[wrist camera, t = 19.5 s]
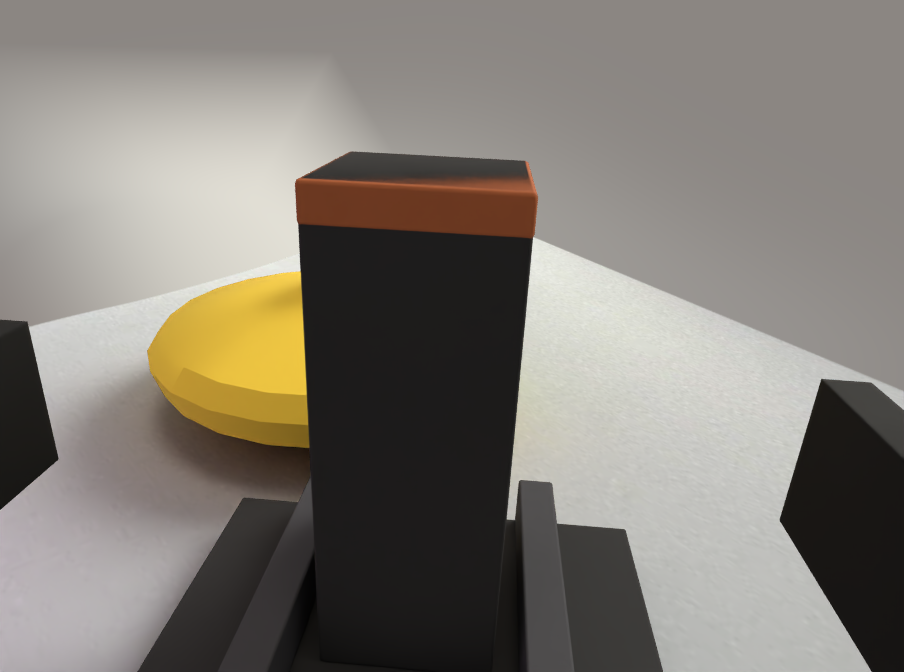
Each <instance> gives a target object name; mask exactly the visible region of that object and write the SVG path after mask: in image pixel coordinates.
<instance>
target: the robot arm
mask: <svg viewBox="0 0 904 672" xmlns="http://www.w3.org/2000/svg"><path fill="white" fill-rule="evenodd" d="M57 460H58V454H57V450H56V445H55V441H54V437H53V432H52V428H51V423H50V419H49V415H48V410H47V406H46V401H45V397H44V393H43V388H42V384H41V379H40V375H39V371H38V366H37V362H36V357H35V353H34V349H33V344H32V340H31V336H30V331H29V327H28V323H27V322H25V321H11V320H0V510H1V509H2V508H3V507H4V506H5V505H6V504H7V503H9V502H10V501H11V500H12V499H13V498H14V497H16V496H17V495H18V494H19V493H20V492H21V491H23V490H24V489H25V488H26V487H27V486H28V485H29V484H31V483H32V482H33V481H34V480H35V479H36V478H38V477H39V476H40V475H41V474H42V473H43V472H44V471H46V470H47V469H48V468H49V467H50V466H51V465H53V464H54V463H55V462H56V461H57ZM780 522H781V523H782V525H783V527H784V528H785V530H786V532H787V533H788V535H789V537H790V538H791V540H792V541H793V543H794V545H795V546H796V548H797V550H798V551H799V553H800V555H801V556H802V558H803V559H804V561H805V563H806V564H807V566H808V568H809V569H810V571H811V573H812V574H813V576H814V578H815V579H816V581H817V582H818V584H819V586H820V587H821V589H822V591H823V592H824V594H825V596H826V597H827V599H828V600H829V602H830V604H831V605H832V607H833V609H834V610H835V612H836V614H837V615H838V617H839V619H840V620H841V622H842V623H843V625H844V627H845V628H846V630H847V632H848V633H849V635H850V637H851V638H852V640H853V642H854V643H855V645H856V646H857V648H858V650H859V651H860V653H861V655H862V656H863V658H864V660H865V661H866V663H867V664H868V666H869V668H870V669H871V671H872V672H904V410H903V409H902V408H901V407H899V406H898V405H897V404H896V403H895V402H893V401H892V400H891V399H890V398H889V397H888V396H886V395H885V394H884V393H883V392H882V391H881V390H879V389H878V388H877V387H876V386H875V385H873V384H872V383H869V382H855V381H842V380H828V379H821V382H820V386H819V389H818V392H817V396H816V399H815V402H814V406H813V409H812V413H811V416H810V419H809V423H808V426H807V429H806V433H805V436H804V439H803V443H802V446H801V450H800V453H799V456H798V460H797V463H796V466H795V470H794V473H793V476H792V480H791V483H790V487H789V490H788V493H787V497H786V500H785V503H784V507H783V510H782V514H781V517H780Z"/></svg>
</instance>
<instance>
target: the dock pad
mask: <svg viewBox="0 0 904 672" xmlns="http://www.w3.org/2000/svg"><path fill="white" fill-rule="evenodd" d="M138 672H435V671H425V670H415V669H404V668H394V667H383V666H373V665H362V664H352V663H341V662H331V661H322V660H320V653H319V633H318V613H317V592H316V572H315V552H314V532H313V511H312V491H311V476H310V479H309V481H308V483H307V485H306V487H305V489H304V491H303V493H302V495H301V497H300V500H299V502H289V501H277V500H265V499H253V498H243V499H242V501H241V503H240V504H239V506H238V508H237V509H236V511H235V513H234V514H233V516H232V518H231V519H230V521H229V522H228V524H227V526H226V527H225V529H224V531H223V532H222V534H221V536H220V537H219V539H218V541H217V542H216V544H215V545H214V547H213V549H212V550H211V552H210V554H209V555H208V557H207V559H206V560H205V562H204V564H203V565H202V567H201V568H200V570H199V572H198V573H197V575H196V577H195V578H194V580H193V582H192V583H191V585H190V586H189V588H188V590H187V591H186V593H185V595H184V596H183V598H182V600H181V601H180V603H179V605H178V606H177V608H176V609H175V611H174V613H173V614H172V616H171V618H170V619H169V621H168V623H167V624H166V626H165V628H164V629H163V631H162V632H161V634H160V636H159V637H158V639H157V641H156V642H155V644H154V646H153V647H152V649H151V651H150V652H149V654H148V655H147V657H146V659H145V660H144V662H143V664H142V665H141V667H140V669H139V670H138ZM492 672H663V669H662V666H661V662H660V658H659V654H658V651H657V647H656V643H655V639H654V636H653V632H652V628H651V624H650V621H649V617H648V613H647V609H646V606H645V602H644V598H643V594H642V591H641V587H640V583H639V579H638V576H637V572H636V568H635V564H634V561H633V557H632V553H631V549H630V546H629V542H628V538H627V534H626V531H625V530H624V529H614V528H602V527H590V526H578V525H566V524H557V521H556V512H555V504H554V496H553V487H552V483H550V482H538V481H526V480H520V481H519V486H518V496H517V506H516V516H515V520H506V529H505V540H504V551H503V561H502V572H501V582H500V593H499V604H498V614H497V625H496V636H495V646H494V657H493V667H492Z"/></svg>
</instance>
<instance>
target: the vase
mask: <svg viewBox="0 0 904 672" xmlns="http://www.w3.org/2000/svg"><path fill="white" fill-rule="evenodd" d="M147 352H148V359H149V366H150V372H151V374H152V375H153V377H154V379H155V380H156V382H157V384H158V386H159V387H160V389H161V391H162V392H163V394H164V396H165V397H166V398H167V399H168V400H169V401H170V402H171V403H172V404H173V405H174V406H175V407H176V409H177V410H178V411H179V412H180V413H181V414H182V415H183V416H185V417H187V418H189V419H191V420H193V421H195V422H197V423H199V424H201V425H203V426H205V427H207V428H209V429H211V430H213V431H215V432H217V433H220V434H224V435H228V436H232V437H236V438H240V439H245V440H249V441H253V442H257V443H261V444H265V445H275V446H289V447H303V448H309V430H308V410H307V390H306V369H305V349H304V329H303V309H302V288H301V271H300V272H290V273H281V274H275V275H269V276H264V277H258V278H253V279H247V280H244V281H241V282H237V283H234V284H230V285H227V286H223V287H220V288H216V289H214V290H212V291H210V292H207V293H205V294H203V295H201V296H198V297H196V298H194V299H192V300H190V301H188V302H187V303H186V304H184V305H183V306H182V307H180V308H179V309H178V310H176V311H175V312H174V313H172V314H171V315H170V316H169V318H168V319H167V320H166V322H165V323H164V324H163V326H162V327H161V328H160V330H159V331H158V333H157V335H156V336H155V338H154V340H153V342H152V343H151V345H150V347H149V349H148V350H147Z"/></svg>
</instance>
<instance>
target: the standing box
mask: <svg viewBox="0 0 904 672" xmlns="http://www.w3.org/2000/svg"><path fill="white" fill-rule="evenodd" d="M295 192H296V210H297V211H296V212H297V222H298V226H299V248H300V268H301V288H302V309H303V329H304V349H305V369H306V390H307V410H308V430H309V450H310V471H311V491H312V511H313V532H314V552H315V572H316V592H317V613H318V633H319V653H320V660H322V661H331V662H341V663H352V664H362V665H373V666H383V667H394V668H404V669H415V670H425V671H435V672H492V667H493V657H494V646H495V636H496V625H497V614H498V604H499V593H500V582H501V572H502V561H503V551H504V540H505V529H506V519H507V508H508V498H509V487H510V476H511V466H512V455H513V444H514V434H515V423H516V413H517V402H518V391H519V381H520V370H521V360H522V349H523V338H524V328H525V317H526V306H527V296H528V285H529V275H530V264H531V253H532V243H533V236H534V234H535V224H536V213H537V203H538V196H537V192H536V189H535V185H534V181H533V178H532V174H531V171H530V167H529V164H528V162H526V161H515V160H497V159H480V158H460V157H443V156H442V157H441V156H424V155H406V154H388V153H369V152H349V153H347V154H345V155H343V156H341V157H339V158H337V159H335V160H333V161H331V162H330V163H328V164H325V165H324V166H322V167H320V168H318V169H316V170H314V171H312V172H310V173H308V174H306V175H304V176H302V177H301V178H299V179H297V180H296V183H295Z"/></svg>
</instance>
